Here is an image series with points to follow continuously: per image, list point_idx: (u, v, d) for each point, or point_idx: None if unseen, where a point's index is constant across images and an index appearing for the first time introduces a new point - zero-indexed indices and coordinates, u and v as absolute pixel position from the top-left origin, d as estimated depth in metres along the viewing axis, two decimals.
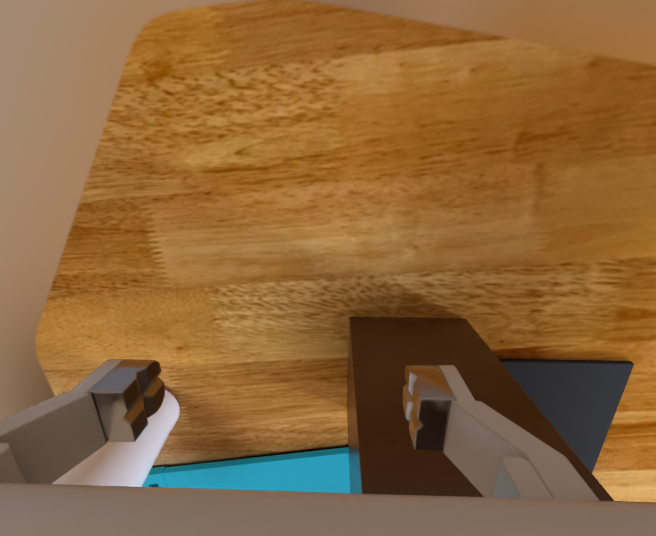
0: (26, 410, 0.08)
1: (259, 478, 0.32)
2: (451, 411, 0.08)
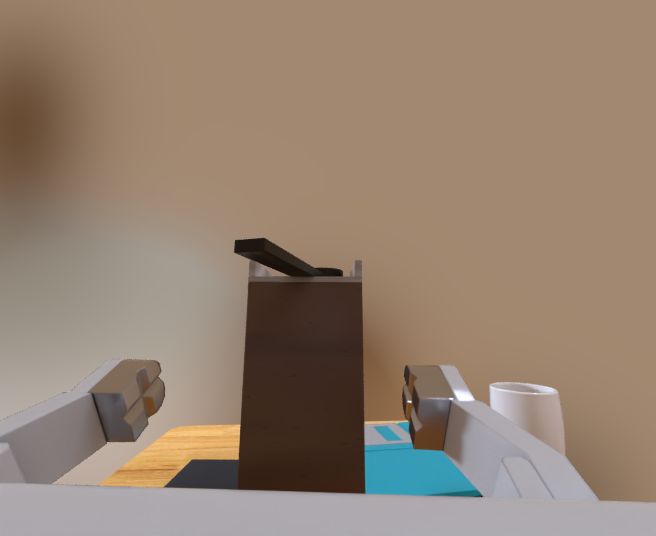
0: (26, 410, 0.08)
1: (418, 486, 0.40)
2: (451, 411, 0.08)
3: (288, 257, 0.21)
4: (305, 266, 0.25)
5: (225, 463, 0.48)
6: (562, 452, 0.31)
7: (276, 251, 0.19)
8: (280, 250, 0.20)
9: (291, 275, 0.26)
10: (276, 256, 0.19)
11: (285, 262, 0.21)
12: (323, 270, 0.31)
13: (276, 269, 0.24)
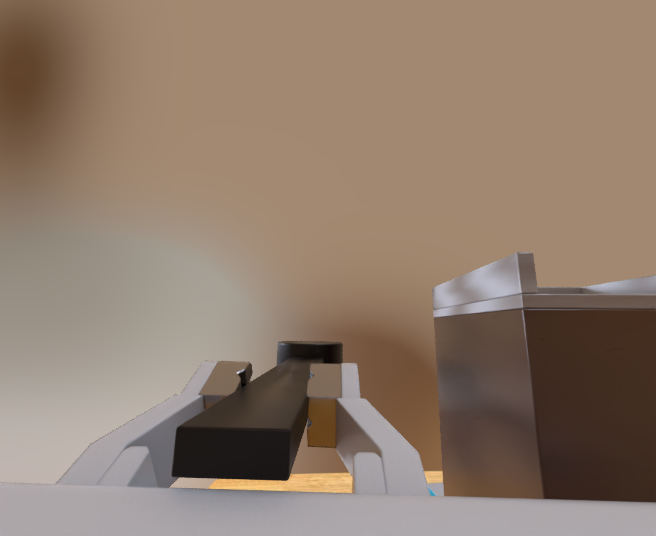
0: (147, 413, 0.07)
1: None
2: (336, 408, 0.08)
3: None
4: None
5: None
6: None
7: (300, 426, 0.07)
8: (304, 408, 0.07)
9: None
10: None
11: None
12: (318, 349, 0.19)
13: None
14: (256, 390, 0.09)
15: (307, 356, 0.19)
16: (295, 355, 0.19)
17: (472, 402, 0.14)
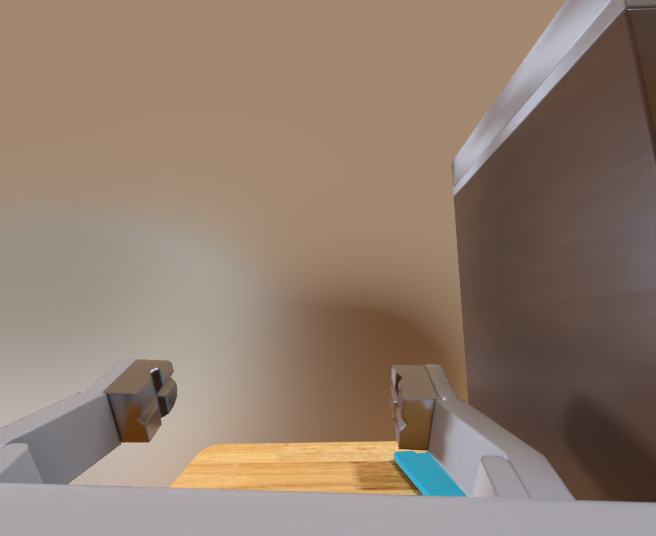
0: (42, 410, 0.08)
1: None
2: (435, 411, 0.08)
3: None
4: None
5: None
6: None
7: None
8: None
9: None
10: None
11: None
12: None
13: None
14: None
15: None
16: None
17: (518, 246, 0.11)
